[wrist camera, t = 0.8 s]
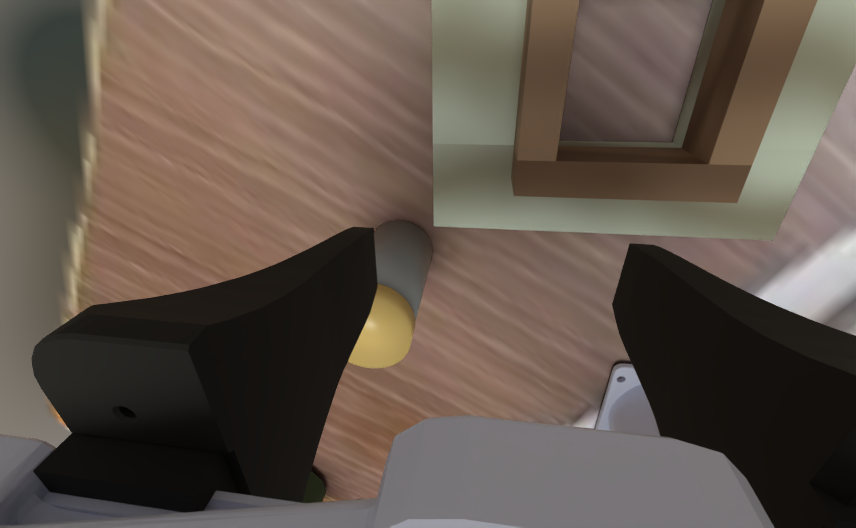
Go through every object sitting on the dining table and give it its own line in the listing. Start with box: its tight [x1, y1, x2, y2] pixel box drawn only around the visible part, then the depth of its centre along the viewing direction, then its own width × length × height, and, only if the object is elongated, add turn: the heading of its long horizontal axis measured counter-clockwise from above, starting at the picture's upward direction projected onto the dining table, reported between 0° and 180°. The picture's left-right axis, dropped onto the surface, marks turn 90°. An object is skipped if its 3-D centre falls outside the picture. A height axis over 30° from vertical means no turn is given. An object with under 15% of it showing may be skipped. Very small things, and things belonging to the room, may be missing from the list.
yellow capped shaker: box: [348, 220, 433, 368], centre depth 20 cm, size 4×4×8 cm
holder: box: [432, 0, 856, 241], centre depth 15 cm, size 14×16×4 cm
